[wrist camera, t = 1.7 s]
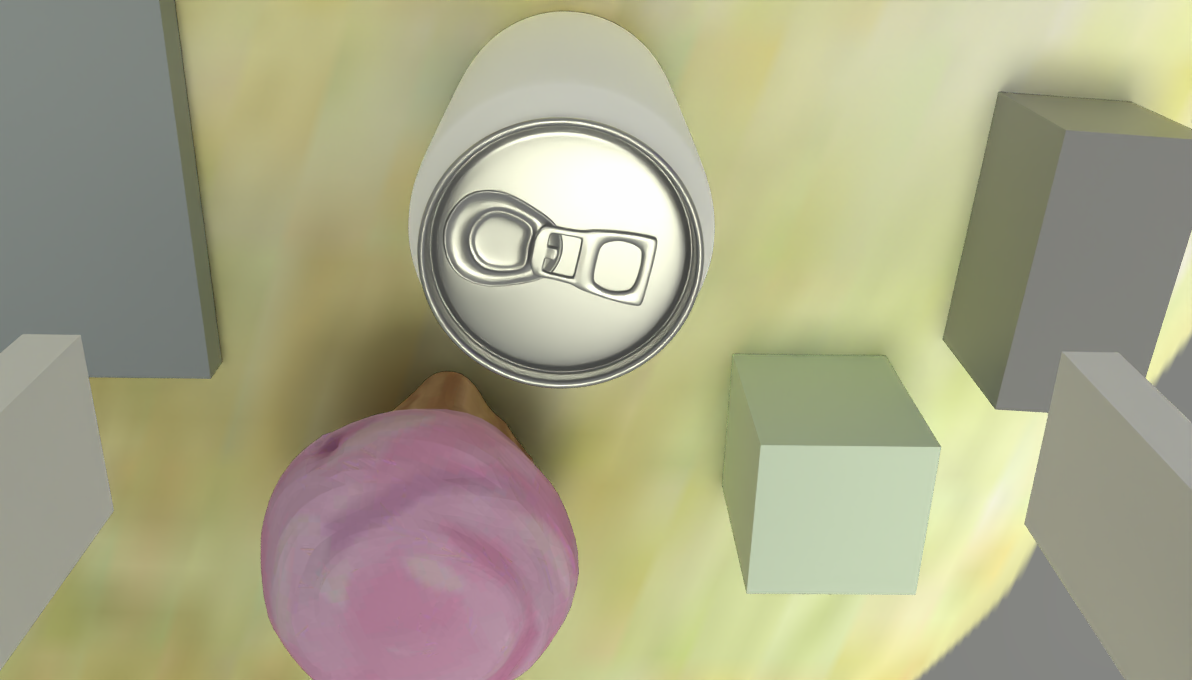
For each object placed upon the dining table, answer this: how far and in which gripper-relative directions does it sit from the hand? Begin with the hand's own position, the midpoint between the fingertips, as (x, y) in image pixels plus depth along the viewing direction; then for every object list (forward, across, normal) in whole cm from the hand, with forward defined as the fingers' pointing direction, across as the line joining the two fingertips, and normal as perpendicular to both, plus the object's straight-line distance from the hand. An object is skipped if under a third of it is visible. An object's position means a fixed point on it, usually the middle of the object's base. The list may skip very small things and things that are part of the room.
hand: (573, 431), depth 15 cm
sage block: (+19, +8, -10) cm, 23 cm away
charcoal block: (+19, +14, -3) cm, 24 cm away
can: (+19, 0, 0) cm, 19 cm away
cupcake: (+19, -4, -11) cm, 23 cm away
